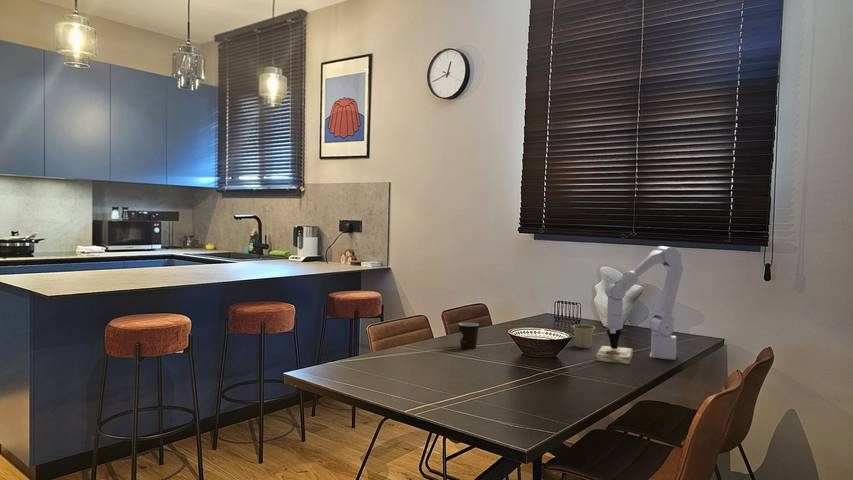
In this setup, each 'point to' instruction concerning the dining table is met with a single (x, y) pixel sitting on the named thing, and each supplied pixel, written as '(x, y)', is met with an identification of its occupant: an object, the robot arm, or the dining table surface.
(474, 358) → the dining table surface
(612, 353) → the ball
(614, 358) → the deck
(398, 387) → the dining table surface
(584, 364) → the dining table surface
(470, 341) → the coffee mug
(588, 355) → the dining table surface
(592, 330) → the flower pot
